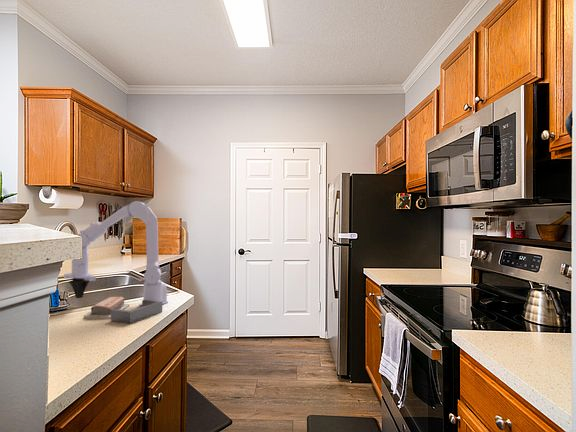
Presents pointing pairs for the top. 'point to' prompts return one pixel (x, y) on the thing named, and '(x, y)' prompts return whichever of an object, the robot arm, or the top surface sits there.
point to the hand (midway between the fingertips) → (79, 297)
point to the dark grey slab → (137, 312)
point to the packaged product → (106, 308)
